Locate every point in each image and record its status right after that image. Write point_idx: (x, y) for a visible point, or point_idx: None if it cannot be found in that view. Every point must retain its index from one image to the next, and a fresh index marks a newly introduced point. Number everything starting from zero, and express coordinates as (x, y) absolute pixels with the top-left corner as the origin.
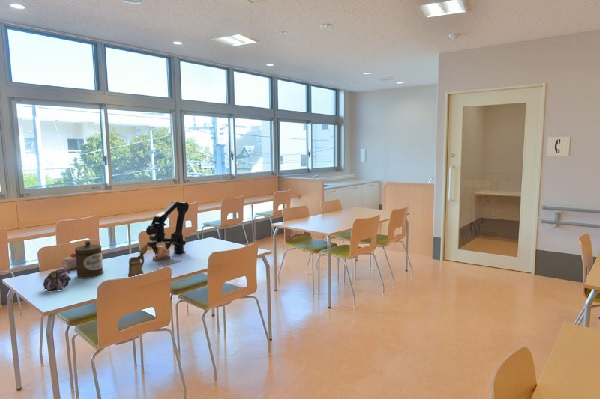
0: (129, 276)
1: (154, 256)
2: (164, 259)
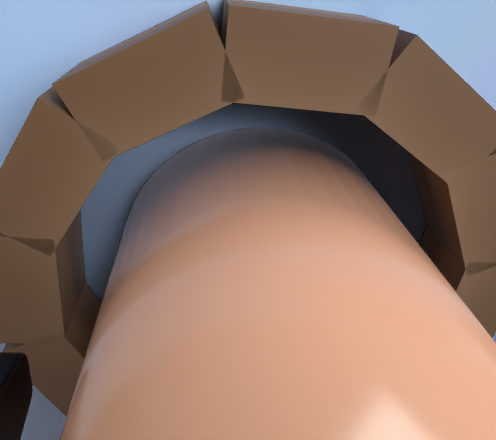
0: None
1: (101, 142)
2: None
